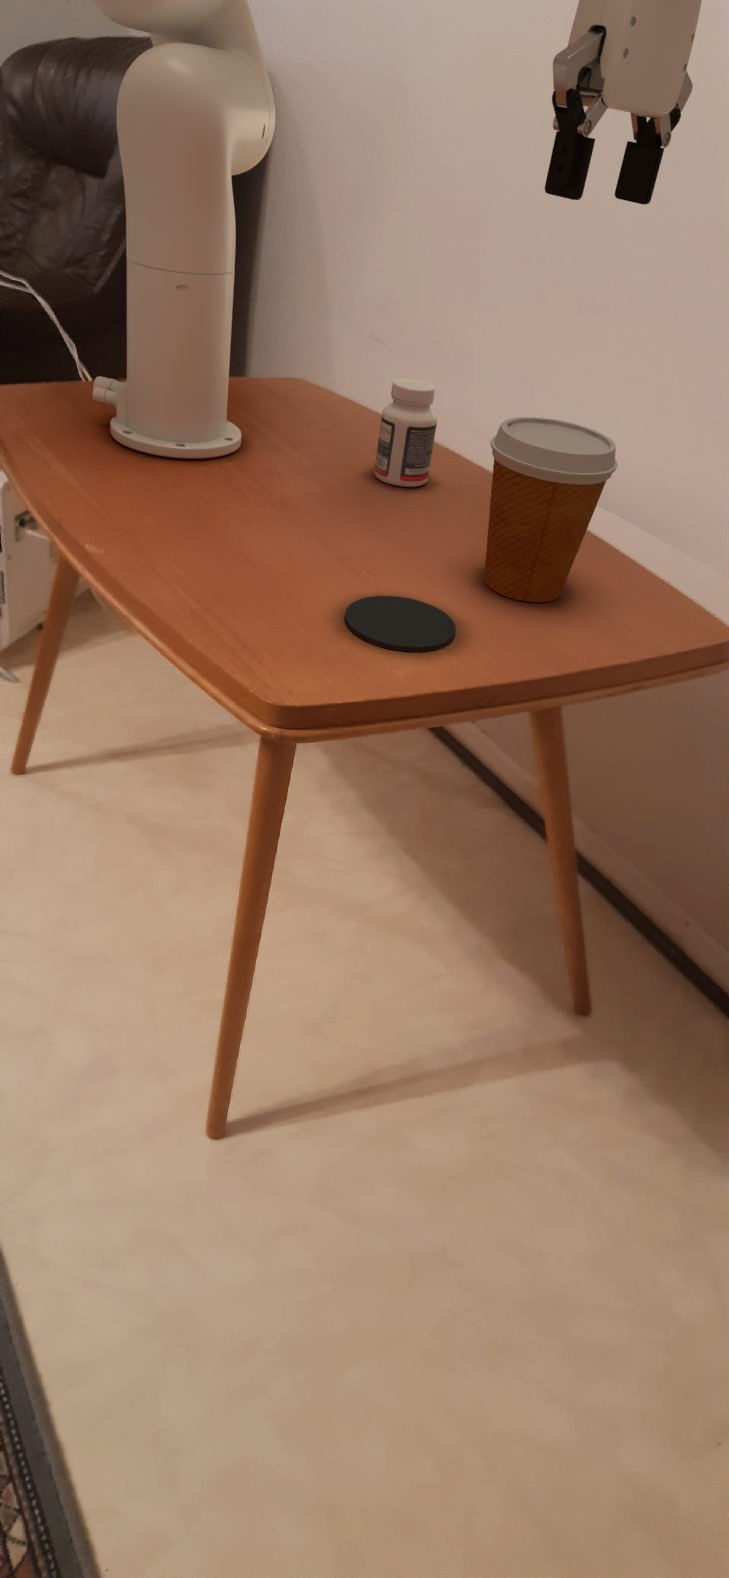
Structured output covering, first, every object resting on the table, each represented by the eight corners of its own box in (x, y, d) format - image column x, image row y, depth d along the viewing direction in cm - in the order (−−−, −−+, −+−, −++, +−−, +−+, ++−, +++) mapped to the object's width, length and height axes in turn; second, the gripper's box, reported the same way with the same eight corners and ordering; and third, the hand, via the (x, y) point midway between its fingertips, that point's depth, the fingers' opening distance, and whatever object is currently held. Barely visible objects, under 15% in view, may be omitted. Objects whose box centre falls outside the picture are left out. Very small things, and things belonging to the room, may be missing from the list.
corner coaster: (328, 633, 71) (329, 627, 71) (364, 591, 77) (364, 586, 77) (439, 662, 69) (440, 657, 69) (465, 617, 76) (467, 613, 76)
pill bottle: (433, 477, 101) (449, 385, 96) (418, 492, 97) (434, 396, 92) (383, 465, 102) (396, 373, 97) (366, 479, 98) (379, 383, 93)
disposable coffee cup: (493, 551, 87) (524, 407, 81) (597, 587, 84) (639, 440, 77) (443, 584, 80) (472, 429, 74) (554, 624, 77) (596, 466, 70)
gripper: (681, -60, 78) (618, 194, 88) (548, -112, 68) (493, 185, 77) (770, -54, 75) (693, 212, 84) (644, -108, 64) (573, 204, 73)
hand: (598, 199), depth 81 cm, fingers open, 9 cm apart
